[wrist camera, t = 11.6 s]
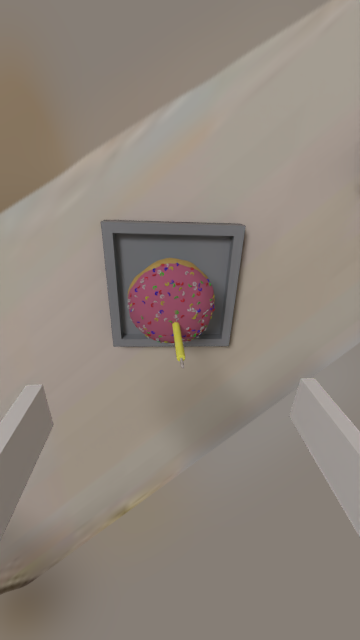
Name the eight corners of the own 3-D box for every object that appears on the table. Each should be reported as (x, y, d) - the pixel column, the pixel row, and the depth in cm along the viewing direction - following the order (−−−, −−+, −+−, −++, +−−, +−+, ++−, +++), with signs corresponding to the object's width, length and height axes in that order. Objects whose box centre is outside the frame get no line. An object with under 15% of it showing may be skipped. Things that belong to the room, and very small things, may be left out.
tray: (116, 338, 32) (113, 346, 30) (104, 219, 26) (100, 221, 24) (225, 338, 33) (228, 346, 31) (240, 223, 26) (245, 225, 25)
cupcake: (216, 309, 30) (244, 373, 19) (149, 331, 31) (141, 403, 20) (195, 238, 26) (216, 269, 16) (119, 265, 27) (90, 312, 16)
